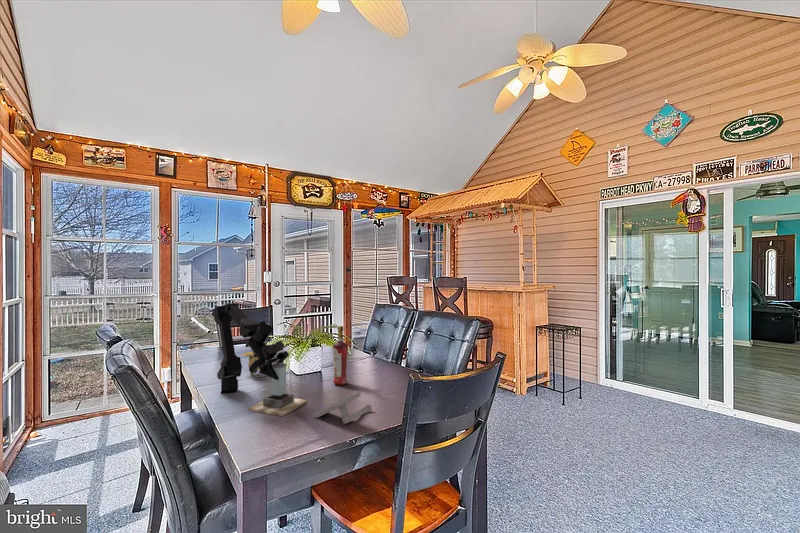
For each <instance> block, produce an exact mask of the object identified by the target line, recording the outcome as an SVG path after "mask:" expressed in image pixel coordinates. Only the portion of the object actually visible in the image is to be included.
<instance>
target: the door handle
mask: <svg viewBox="0 0 800 533" xmlns="http://www.w3.org/2000/svg"><path fill="white" fill-rule="evenodd" d="M360 397H361V392H360V391H358V392H356V393H353V394H351V395H348V396H347V397H345V398H342V399H340V400H339V401H337V402H335V403H333V404H331V405H329V406H327V407H326V408H324V409H322V410H320V411H317V412H316V413H314V414H313V415H312V416H313V417H314V418H315V419H317V418H320V417H322V416H324V415H326V414H328V413H331V412H333V411H335V410H336V409H339V411H340V414H341V416H342V418H341V420H342V423H343V424H344V425H346V424H349V423H351V422H352V421H353V420H355V419H357V418H359V417H360V416H362V415H365V414H368V413H369V412H371V411H373V407H372V404H370V403H369V404H367V405H365V406H363V407H361V408H360V409H357V410H356V411H354V412H352V413H349V412H348V410H347V407H346V406H347V404H348V403H350V402H352V401H355V400H356V399H359V398H360Z"/></svg>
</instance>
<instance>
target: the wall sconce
mask: <svg viewBox="0 0 800 533" xmlns="http://www.w3.org/2000/svg"><path fill="white" fill-rule="evenodd" d="M241 355H242V356H243V357H248V364H247V365H248V368H249V367H250V366H251V364H252V363H253V362H254V361H255V360H258V358H257V357H256V358H254V355H255V354H254V352H253V351H248V352H247V351H246V352H243V353H241ZM257 371H260V368H257ZM250 375H252V376H253V375H255V373H253V374H251V373H250Z"/></svg>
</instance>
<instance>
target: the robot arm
mask: <svg viewBox="0 0 800 533" xmlns="http://www.w3.org/2000/svg"><path fill="white" fill-rule="evenodd" d="M211 314H212V317H213V320H214V322H215V323H216V324H217V325H218V327H219V328H218V329H219V334H220V341H221V348H222V355H223V357H222V359H221V362H220V368H219V370H218V372H217V374H216V377H217V379H218V380H220V381H221V382H220V384H221V385H220V386H221V388H220V389H221V390H220V394H231V393H237V390H238V389H239V379H238V377H241V375H242V372H243V371H242V370H243V365H242V361H241V357H240V356H238V355H236V351H235V344H234V339H233V332H232V324H231V323H232V320H233V321H234V322H235V323H236V325H237V326H238V327H239V328H238V332H239V334H240V335H241V337H242V338H245V339H246V338H249V339H248V340H245V348H250V349H251V352H254V354H255V355H254V358H258V360H255V361H254V362H253V363H252V364H251V366H250V367H249V366H248V370H249V374H250V375H251V374H253V373H254V374H256V373H257V372H258V373H259V374H262V375H265V376H268V377H270V378H271V379H272V378H273V379H275V380H278V379H279V378H278V376H277V374H276V372H275V371H274V369H273V368H272V365H273V364H276V363H284V362H285V361H286V359H288V357H289V356H290V354H289V353H288V351H287V350H284V348H285V344H284V343H283V341H282V340H279V341H277V342H275V343H274V344H272V345H271V344H267V343H266V341H267V340H268V339H269V337H270V336H271V335H272V333H273V332H274V331H273V327H272V326H271V325H270V324H269V323H266V322H265V321H259V323H258V322H257V321H256V320H253V319H250V318H249V317H248V316H247V315H246V314H245V313H244V312H243V310H242V309H241V308H240V307H239V304H238V303H236V302H229V303H225V304H223V305H217V306H214V308H213V309H212V311H211ZM257 368H260V369H259V370H257Z"/></svg>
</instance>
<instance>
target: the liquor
mask: <svg viewBox="0 0 800 533" xmlns="http://www.w3.org/2000/svg"><path fill="white" fill-rule="evenodd" d="M343 332H344V325H338V326H337V342H334V344H333V345H332V357H333V381H332V382H333V384H334V385H335V386H345V385H346V384H347V383H348V380H347V376H348V375H347V372H348V353H349V352H348V351H349V344H348V343H347V342H344V334H343Z"/></svg>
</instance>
